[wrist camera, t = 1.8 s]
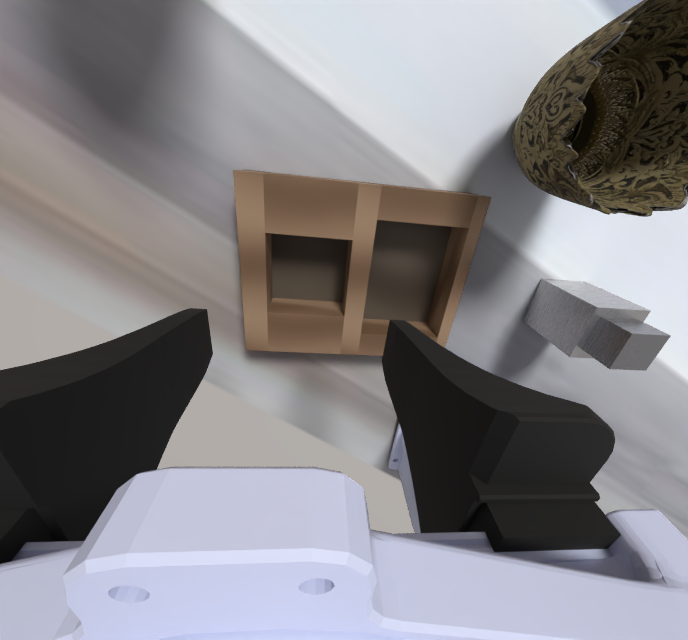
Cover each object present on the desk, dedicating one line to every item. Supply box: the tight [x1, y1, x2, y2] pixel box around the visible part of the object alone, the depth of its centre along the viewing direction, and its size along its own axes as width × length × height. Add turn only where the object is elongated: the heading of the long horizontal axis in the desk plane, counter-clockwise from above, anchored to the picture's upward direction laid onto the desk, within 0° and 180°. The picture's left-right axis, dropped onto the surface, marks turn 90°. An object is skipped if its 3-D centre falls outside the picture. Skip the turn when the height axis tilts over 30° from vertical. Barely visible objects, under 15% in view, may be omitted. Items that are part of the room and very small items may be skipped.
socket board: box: [233, 170, 491, 356], centre depth 19 cm, size 11×14×2 cm
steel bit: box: [523, 279, 670, 370], centre depth 20 cm, size 4×4×7 cm
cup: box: [512, 0, 688, 217], centre depth 14 cm, size 8×7×8 cm
